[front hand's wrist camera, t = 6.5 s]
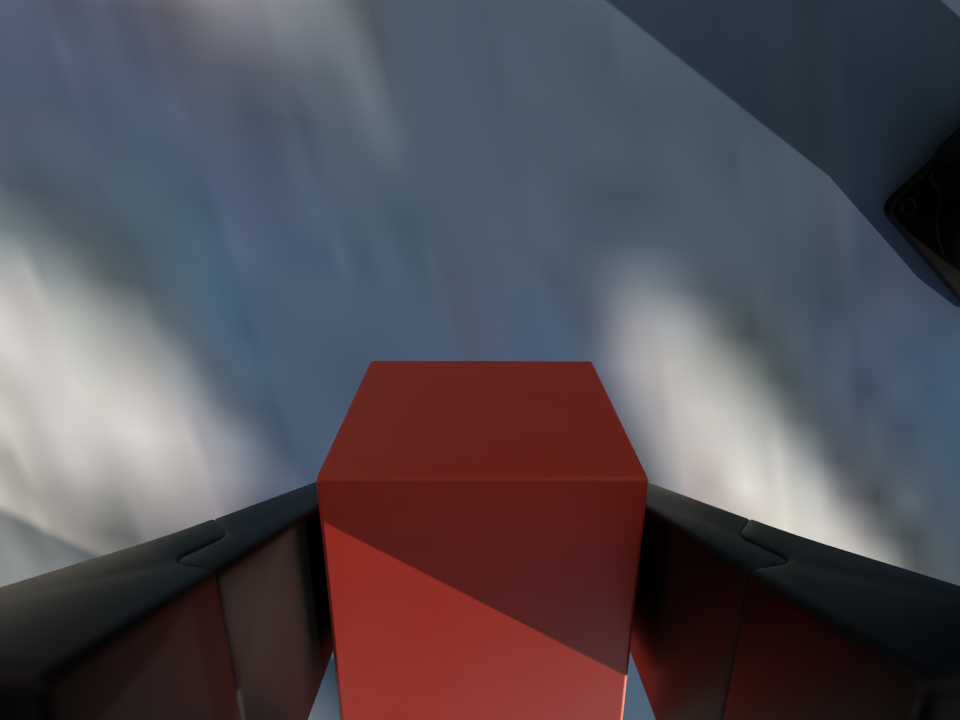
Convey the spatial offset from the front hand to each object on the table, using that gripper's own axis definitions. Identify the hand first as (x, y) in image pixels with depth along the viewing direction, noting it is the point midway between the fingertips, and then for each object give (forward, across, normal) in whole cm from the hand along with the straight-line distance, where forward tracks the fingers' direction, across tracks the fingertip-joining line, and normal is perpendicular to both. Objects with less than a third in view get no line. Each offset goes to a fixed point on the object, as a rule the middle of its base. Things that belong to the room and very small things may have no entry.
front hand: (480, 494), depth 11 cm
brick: (+1, 0, 0) cm, 1 cm away
